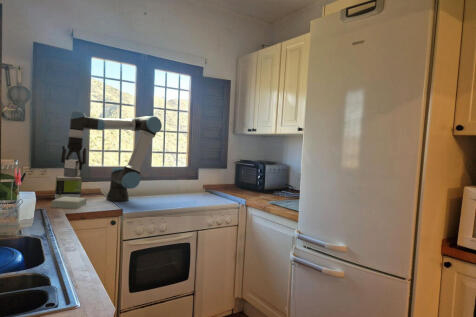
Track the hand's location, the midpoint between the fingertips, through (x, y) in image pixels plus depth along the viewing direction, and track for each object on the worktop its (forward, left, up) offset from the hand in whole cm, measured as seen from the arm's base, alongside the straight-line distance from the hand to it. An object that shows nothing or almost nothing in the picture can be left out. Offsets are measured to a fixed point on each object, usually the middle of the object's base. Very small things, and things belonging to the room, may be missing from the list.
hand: (72, 174), depth 183 cm
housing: (0, 0, -1) cm, 1 cm away
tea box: (+10, -24, -19) cm, 32 cm away
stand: (0, 0, -19) cm, 19 cm away
